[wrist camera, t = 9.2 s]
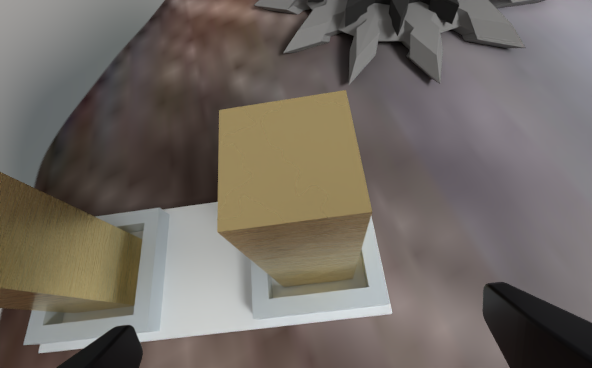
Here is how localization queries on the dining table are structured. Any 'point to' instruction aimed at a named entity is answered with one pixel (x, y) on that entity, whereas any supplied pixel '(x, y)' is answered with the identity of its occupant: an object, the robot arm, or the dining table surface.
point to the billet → (293, 188)
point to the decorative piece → (400, 26)
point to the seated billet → (61, 255)
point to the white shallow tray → (209, 287)
